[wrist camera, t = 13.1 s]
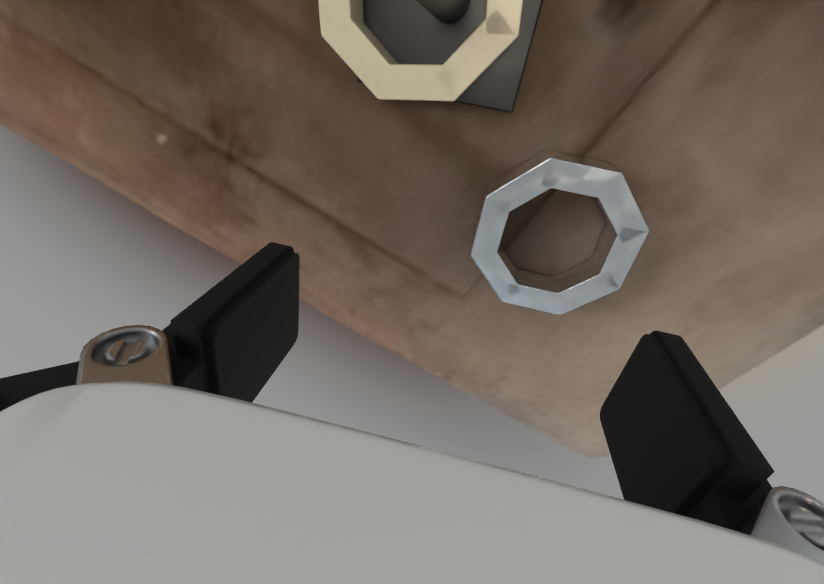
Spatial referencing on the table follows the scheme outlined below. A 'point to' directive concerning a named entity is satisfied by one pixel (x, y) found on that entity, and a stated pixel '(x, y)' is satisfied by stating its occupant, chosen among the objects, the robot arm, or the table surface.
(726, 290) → the table surface
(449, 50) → the stand
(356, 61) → the ivory ring
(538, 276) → the steel ring
